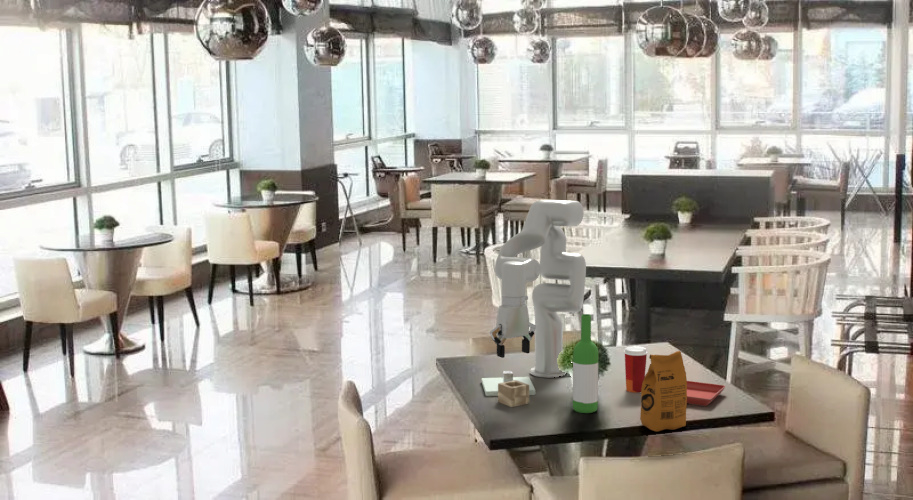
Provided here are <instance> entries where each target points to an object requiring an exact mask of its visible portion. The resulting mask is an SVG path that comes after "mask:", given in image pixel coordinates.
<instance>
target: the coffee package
mask: <svg viewBox="0 0 913 500" xmlns="http://www.w3.org/2000/svg"><path fill="white" fill-rule="evenodd" d="M648 358H649V360H650V364H649V365H648V369H647V372H646V373H645V378H644V380H643V383H642V389H641V392H640V394H641V395H640V415H639V420H640V422H641V425H642V426H644V427H646V428H647V429H649V430H650V431H654V432H661V431H664V430H672V431H673V430H677V429H680V428H682V427H686V424H687V405H688V404H687V381H688V380H687V372H686V367H685V365H684V358H683V355H682V352H681V350H677V351H674V352H673V353H671V354H664V355H663V354H649V356H648Z"/></svg>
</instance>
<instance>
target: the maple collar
mask: <svg viewBox="0 0 913 500" xmlns="http://www.w3.org/2000/svg"><path fill="white" fill-rule="evenodd" d="M497 402H498V403H499V404H502V405H505V406H507V407H510V408H514V407H519V406H523V405H527V404H530V395H529V385H528V384H525V383H523V382H520V381H517V380H513V381H508V382H503V383H498V396H497Z"/></svg>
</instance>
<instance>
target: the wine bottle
mask: <svg viewBox="0 0 913 500" xmlns="http://www.w3.org/2000/svg"><path fill="white" fill-rule="evenodd" d="M580 323H581V324H580V326H581V327H580V329H581V330H580V341H578V342H577V343H576V345H574V348H573V351H572V363H573V368H572V409H573V411H575V412H576V413H580V414H591V413H595V412H596V411H597V410H598V409H599V408H598V406H599V403H598V402H599V349H598V347H597V345H596V344H595V343H594V342H593V341H592V315H591V314H588V313H584V314H581V321H580Z"/></svg>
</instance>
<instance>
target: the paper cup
mask: <svg viewBox="0 0 913 500" xmlns="http://www.w3.org/2000/svg"><path fill="white" fill-rule="evenodd" d="M623 353H624V367H625V369H624V370H625V387H626V388H625V389H626V391H627V392H629V393H634V394H635V393H636V394H637V393H639V394H641V389H642V383H643V380H644V378H645V375H646V368H647V355H648V351H647V348H646V347H644V346H638V345H634V346H627V347H625V348H624V351H623Z"/></svg>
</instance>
